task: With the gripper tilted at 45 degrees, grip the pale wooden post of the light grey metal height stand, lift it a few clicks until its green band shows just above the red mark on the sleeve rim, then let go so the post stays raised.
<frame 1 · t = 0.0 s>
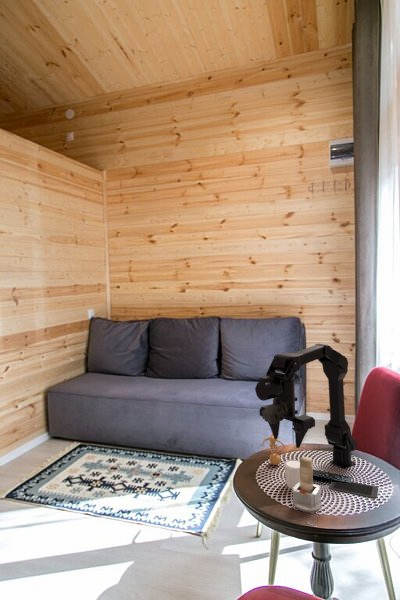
hand: (286, 443, 129), 15 cm above the table, tool pointing down, fingers open, 9 cm apart
stand: (307, 504, 120), on the table
white short cylinder: (295, 485, 132), on the table
post: (306, 479, 120), point 7 cm above the table, slide at 0.0 cm
figurine: (274, 466, 146), on the table
cell phone: (353, 490, 128), on the table
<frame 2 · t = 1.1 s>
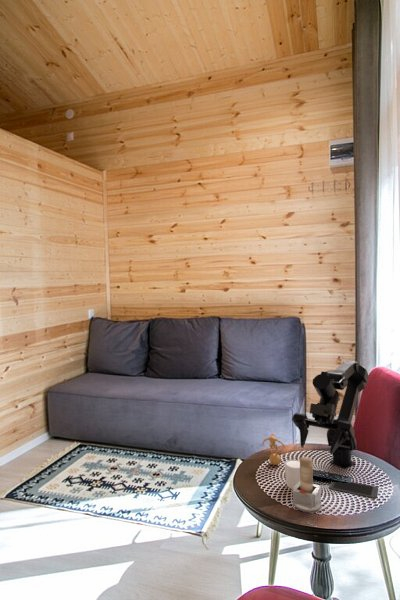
hand: (316, 450, 126), 13 cm above the table, tool tilted 45°, fingers open, 9 cm apart
nothing on the table moved.
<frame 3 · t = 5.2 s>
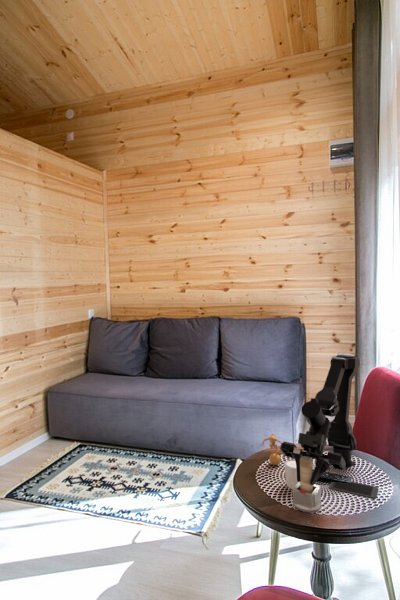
hand: (304, 483, 119), 7 cm above the table, tool tilted 45°, fingers closed on post, 4 cm apart
post: (306, 479, 120), point 7 cm above the table, slide at 0.0 cm, touching gripper
everything else where it was.
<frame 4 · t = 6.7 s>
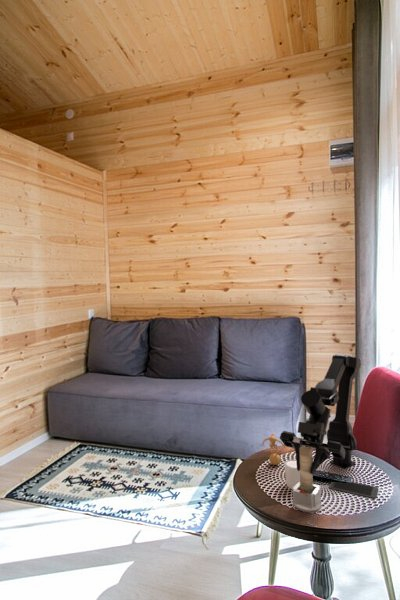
hand: (304, 472, 118), 10 cm above the table, tool tilted 45°, fingers closed on post, 4 cm apart
post: (306, 468, 119), point 11 cm above the table, slide at 3.3 cm, touching gripper
everything else where it was.
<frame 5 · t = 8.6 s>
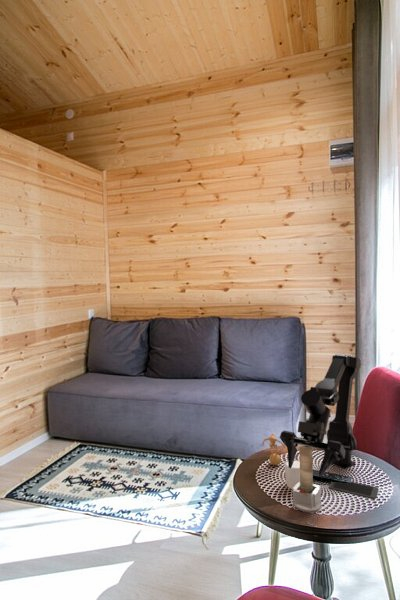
hand: (304, 471, 118), 11 cm above the table, tool tilted 45°, fingers open, 9 cm apart
post: (306, 468, 119), point 11 cm above the table, slide at 3.4 cm
everything else where it was.
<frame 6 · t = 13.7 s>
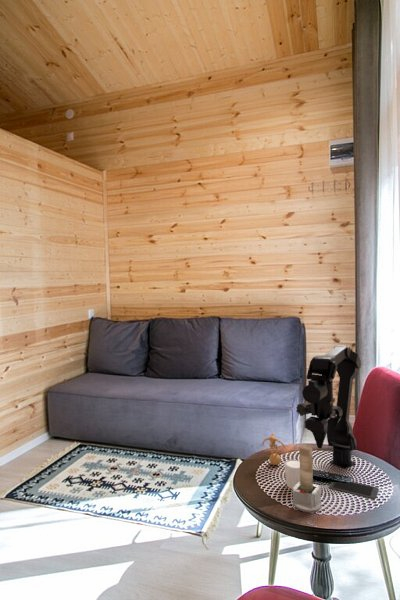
hand: (324, 443, 132), 13 cm above the table, tool pointing down, fingers open, 9 cm apart
nothing on the table moved.
at the end: post slide at 3.4 cm; the gripper is holding nothing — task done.
